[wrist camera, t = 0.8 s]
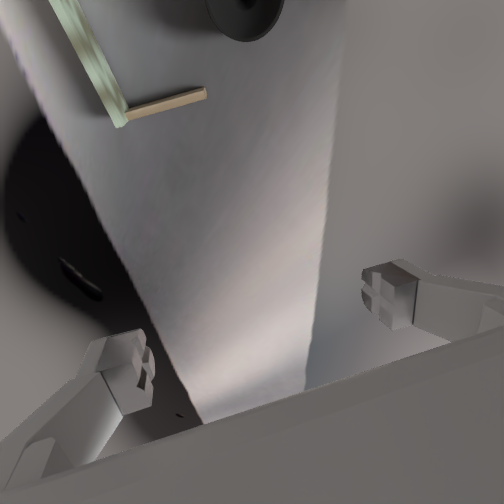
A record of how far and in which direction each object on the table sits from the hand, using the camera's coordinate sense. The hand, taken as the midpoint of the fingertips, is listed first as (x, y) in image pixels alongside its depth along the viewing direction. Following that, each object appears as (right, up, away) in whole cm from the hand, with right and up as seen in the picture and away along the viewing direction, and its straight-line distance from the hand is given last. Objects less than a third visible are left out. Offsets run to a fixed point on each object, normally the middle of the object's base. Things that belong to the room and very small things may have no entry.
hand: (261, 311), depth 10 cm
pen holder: (-2, +39, +30) cm, 49 cm away
